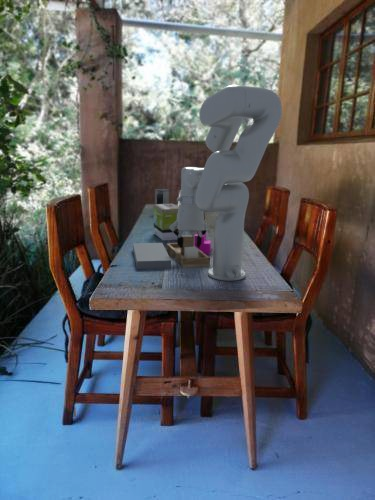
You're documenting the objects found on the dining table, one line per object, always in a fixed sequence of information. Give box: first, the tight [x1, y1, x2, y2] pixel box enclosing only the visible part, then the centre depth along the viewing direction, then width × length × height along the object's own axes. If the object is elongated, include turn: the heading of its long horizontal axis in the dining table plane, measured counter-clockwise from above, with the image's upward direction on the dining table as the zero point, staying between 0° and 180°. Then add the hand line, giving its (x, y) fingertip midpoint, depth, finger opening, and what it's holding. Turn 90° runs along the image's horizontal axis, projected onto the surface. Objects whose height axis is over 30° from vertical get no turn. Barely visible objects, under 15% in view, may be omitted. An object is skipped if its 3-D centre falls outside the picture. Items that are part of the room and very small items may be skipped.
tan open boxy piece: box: [165, 234, 211, 269], centre depth 155 cm, size 24×10×9 cm, turn 18°
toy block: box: [194, 232, 212, 255], centre depth 169 cm, size 15×6×8 cm, turn 174°
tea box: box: [152, 203, 179, 241], centre depth 189 cm, size 15×10×15 cm, turn 21°
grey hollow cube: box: [154, 188, 170, 204], centre depth 251 cm, size 14×16×15 cm
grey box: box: [184, 246, 198, 259], centre depth 149 cm, size 4×4×4 cm
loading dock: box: [132, 242, 172, 270], centre depth 153 cm, size 26×12×3 cm, turn 11°
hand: (189, 246), depth 156 cm, fingers open, 6 cm apart
